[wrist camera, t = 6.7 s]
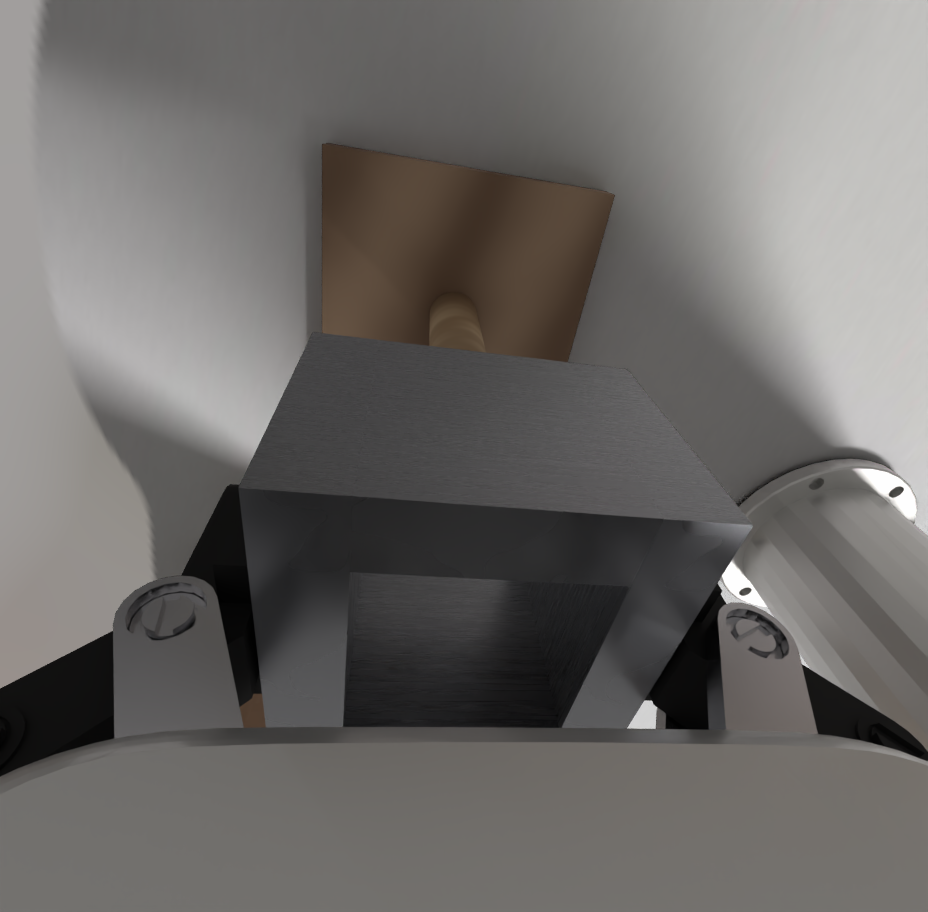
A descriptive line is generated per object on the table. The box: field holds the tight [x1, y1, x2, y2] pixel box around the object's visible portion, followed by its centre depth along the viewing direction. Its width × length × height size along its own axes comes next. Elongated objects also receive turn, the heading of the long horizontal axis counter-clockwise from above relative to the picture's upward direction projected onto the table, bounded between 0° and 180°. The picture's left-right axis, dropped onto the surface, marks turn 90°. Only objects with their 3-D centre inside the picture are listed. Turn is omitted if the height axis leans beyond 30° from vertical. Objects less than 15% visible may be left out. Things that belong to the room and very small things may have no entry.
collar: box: [238, 332, 753, 729], centre depth 10 cm, size 7×7×5 cm
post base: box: [322, 143, 615, 362], centre depth 21 cm, size 12×12×8 cm
